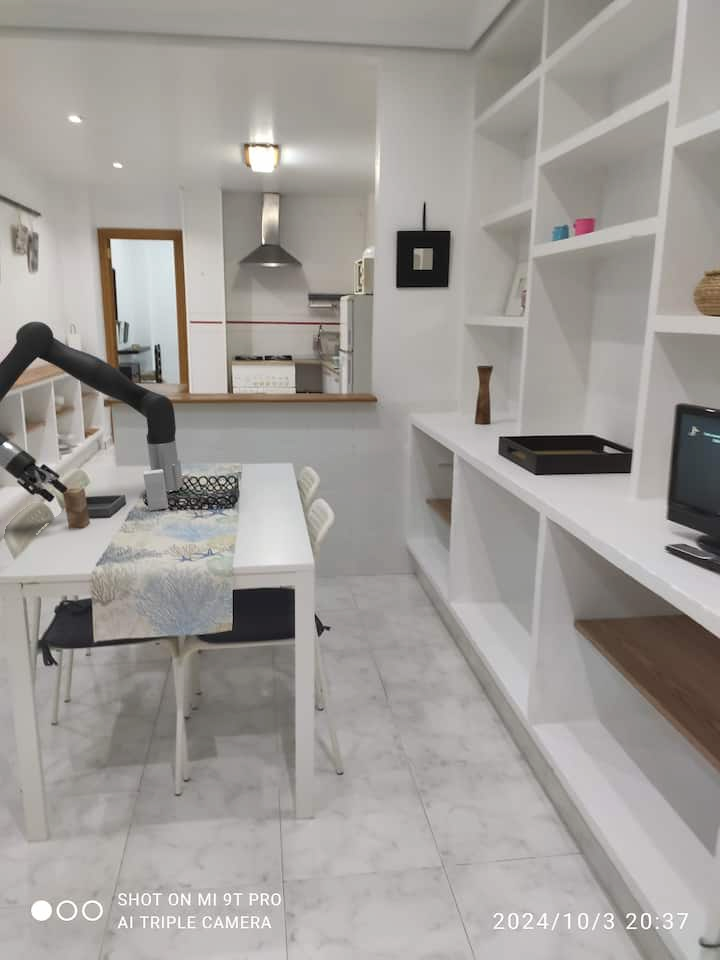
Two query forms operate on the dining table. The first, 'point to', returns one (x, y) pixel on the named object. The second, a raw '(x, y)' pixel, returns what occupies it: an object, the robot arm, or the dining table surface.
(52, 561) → the dining table surface
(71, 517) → the block
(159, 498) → the skincare box
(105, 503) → the tray
